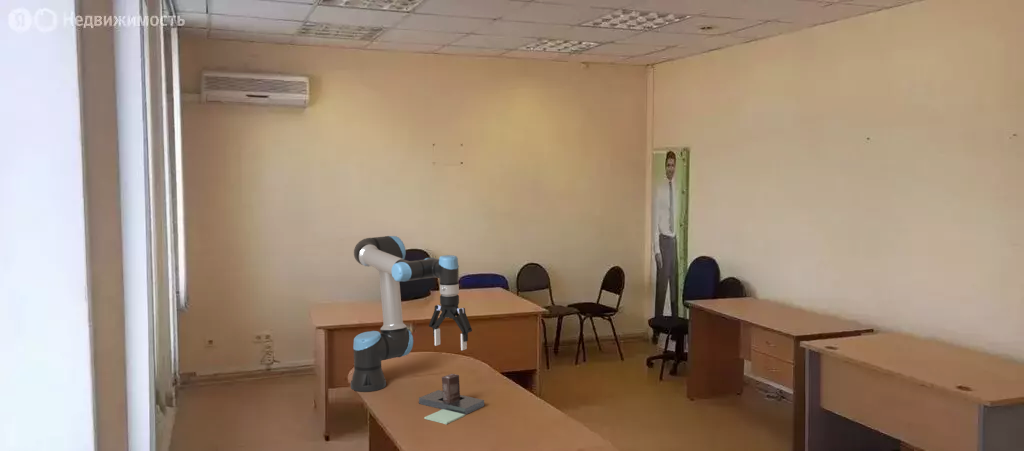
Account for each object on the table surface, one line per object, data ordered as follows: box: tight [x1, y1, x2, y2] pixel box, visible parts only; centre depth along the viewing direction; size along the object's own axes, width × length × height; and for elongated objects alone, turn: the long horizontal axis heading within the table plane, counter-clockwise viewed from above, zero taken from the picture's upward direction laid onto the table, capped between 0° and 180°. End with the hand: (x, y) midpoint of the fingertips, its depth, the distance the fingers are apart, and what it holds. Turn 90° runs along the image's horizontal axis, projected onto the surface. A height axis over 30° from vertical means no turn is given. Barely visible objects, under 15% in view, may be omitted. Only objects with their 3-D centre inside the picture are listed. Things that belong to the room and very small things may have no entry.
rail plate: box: [418, 389, 485, 416], centre depth 300 cm, size 24×12×2 cm, turn 55°
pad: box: [423, 409, 466, 425], centre depth 286 cm, size 11×11×1 cm
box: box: [441, 373, 461, 403], centre depth 300 cm, size 6×4×12 cm
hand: (450, 347), depth 298 cm, fingers open, 13 cm apart
